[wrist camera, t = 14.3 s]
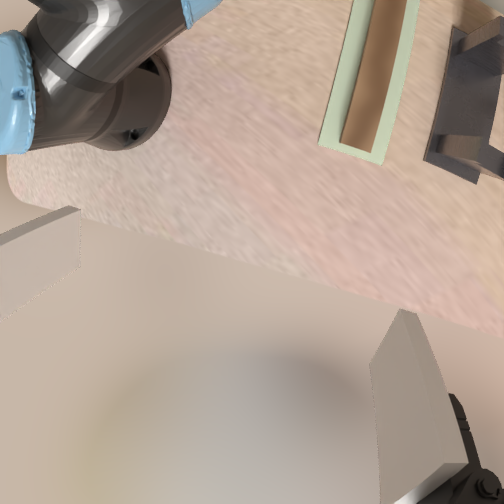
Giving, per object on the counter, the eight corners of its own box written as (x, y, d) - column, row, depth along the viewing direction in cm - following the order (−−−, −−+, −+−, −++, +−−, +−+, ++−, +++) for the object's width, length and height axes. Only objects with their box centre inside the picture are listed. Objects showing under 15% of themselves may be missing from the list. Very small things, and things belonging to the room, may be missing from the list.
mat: (317, 144, 36) (317, 144, 35) (358, -22, 26) (359, -24, 26) (380, 165, 35) (381, 165, 34) (419, -2, 25) (420, -3, 25)
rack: (423, 160, 33) (463, 172, 22) (451, 28, 26) (492, -1, 15) (473, 183, 33) (522, 204, 22) (501, 56, 25) (550, 40, 14)
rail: (338, 142, 34) (340, 143, 31) (377, -13, 26) (381, -24, 23) (366, 151, 34) (370, 153, 31) (403, -4, 26) (409, -14, 22)
